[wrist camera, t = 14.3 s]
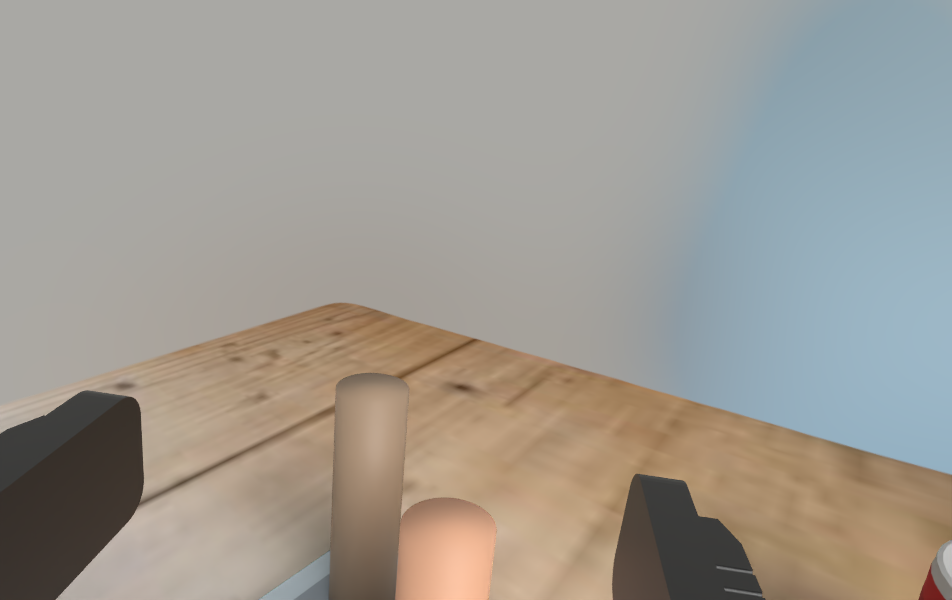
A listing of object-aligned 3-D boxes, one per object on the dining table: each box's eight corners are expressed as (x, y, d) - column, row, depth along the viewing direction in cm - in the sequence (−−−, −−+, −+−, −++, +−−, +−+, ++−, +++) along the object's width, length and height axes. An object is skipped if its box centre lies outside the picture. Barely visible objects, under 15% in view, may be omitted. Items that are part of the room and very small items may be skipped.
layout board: (134, 704, 29) (115, 436, 26) (356, 545, 41) (366, 343, 37) (482, 1022, 20) (533, 681, 17) (643, 704, 32) (694, 459, 28)
